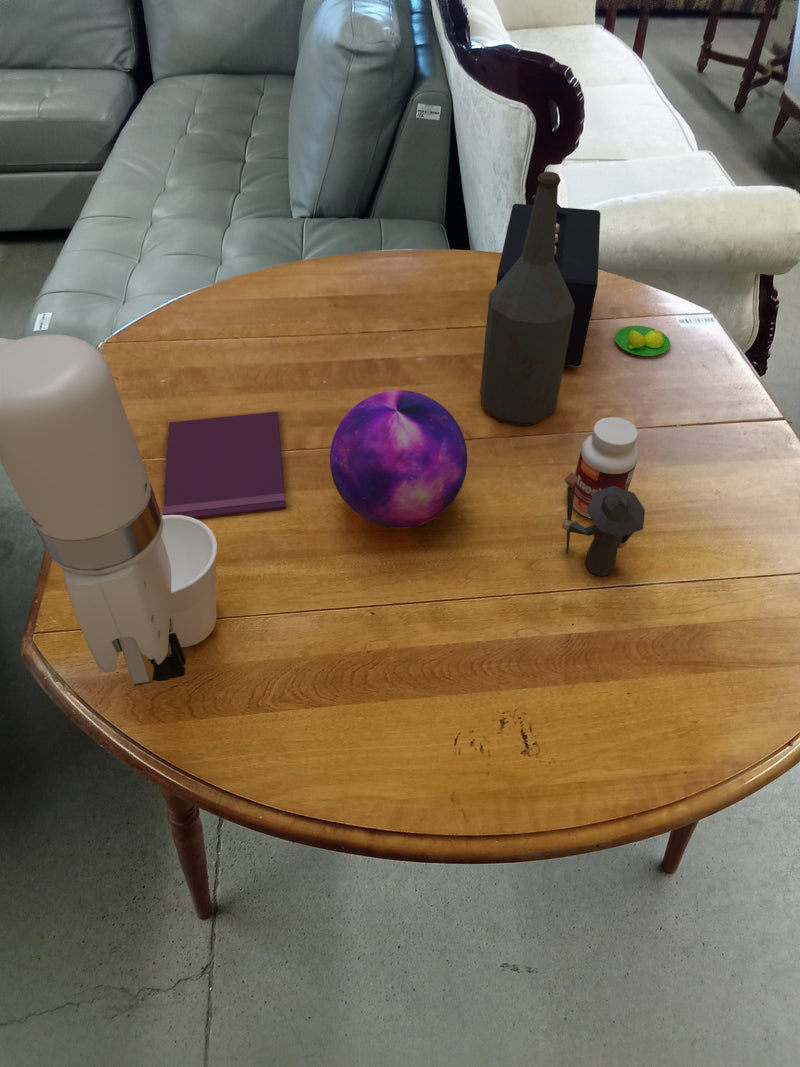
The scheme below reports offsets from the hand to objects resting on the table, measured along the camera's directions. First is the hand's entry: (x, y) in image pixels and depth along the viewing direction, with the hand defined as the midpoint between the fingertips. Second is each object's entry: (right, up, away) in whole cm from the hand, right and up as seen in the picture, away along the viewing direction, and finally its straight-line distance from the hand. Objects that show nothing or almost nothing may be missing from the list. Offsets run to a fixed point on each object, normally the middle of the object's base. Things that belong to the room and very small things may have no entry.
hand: (166, 670), depth 63 cm
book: (-2, +20, +30) cm, 36 cm away
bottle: (+35, +29, +39) cm, 60 cm away
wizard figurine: (+40, +8, +19) cm, 45 cm away
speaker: (+40, +42, +51) cm, 78 cm away
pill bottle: (+43, +15, +26) cm, 52 cm away
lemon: (+55, +39, +48) cm, 83 cm away
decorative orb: (+19, +14, +25) cm, 35 cm away
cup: (-2, +2, +14) cm, 14 cm away
